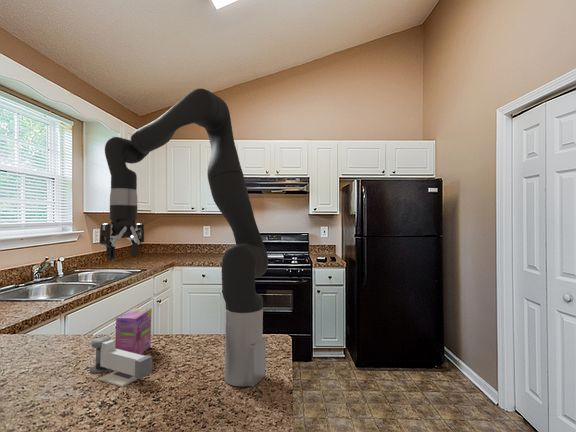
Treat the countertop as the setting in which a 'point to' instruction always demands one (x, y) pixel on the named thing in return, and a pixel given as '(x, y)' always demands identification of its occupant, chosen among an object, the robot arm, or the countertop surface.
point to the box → (134, 331)
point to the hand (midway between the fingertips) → (123, 258)
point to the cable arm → (122, 359)
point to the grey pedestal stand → (98, 363)
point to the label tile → (118, 378)
